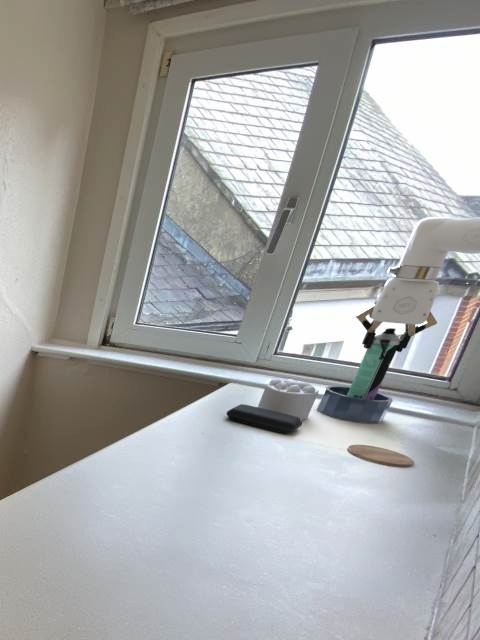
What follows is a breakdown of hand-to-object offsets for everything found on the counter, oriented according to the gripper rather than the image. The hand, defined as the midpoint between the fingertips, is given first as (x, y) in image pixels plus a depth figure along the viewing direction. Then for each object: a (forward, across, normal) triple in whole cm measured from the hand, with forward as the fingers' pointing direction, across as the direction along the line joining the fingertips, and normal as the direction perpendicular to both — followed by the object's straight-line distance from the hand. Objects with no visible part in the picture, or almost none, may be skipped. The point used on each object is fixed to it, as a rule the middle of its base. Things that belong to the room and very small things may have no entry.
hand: (382, 348), depth 140 cm
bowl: (+18, -1, 0) cm, 18 cm away
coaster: (+18, 0, -34) cm, 39 cm away
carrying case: (+18, -21, -25) cm, 37 cm away
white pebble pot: (+18, -17, -12) cm, 27 cm away
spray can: (+15, 0, 0) cm, 15 cm away
